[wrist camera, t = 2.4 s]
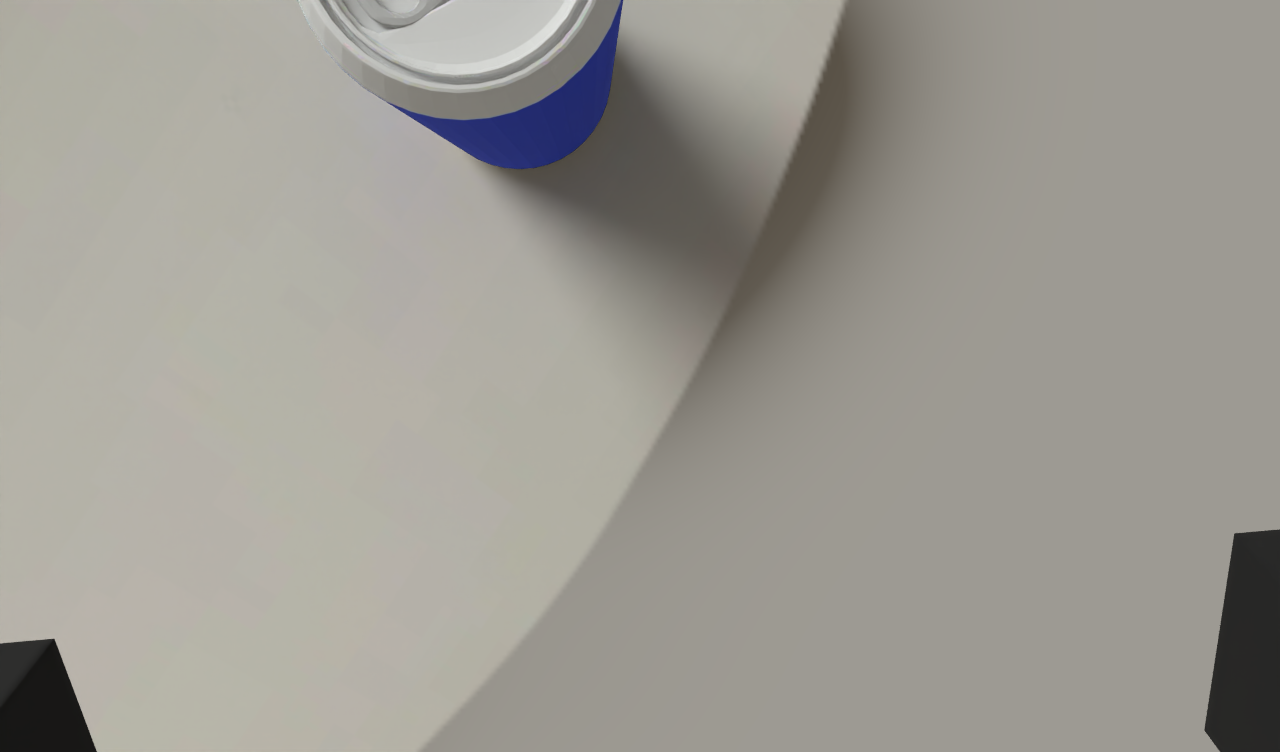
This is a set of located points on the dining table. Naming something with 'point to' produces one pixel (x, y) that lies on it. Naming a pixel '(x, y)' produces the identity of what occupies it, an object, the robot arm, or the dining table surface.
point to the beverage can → (481, 68)
